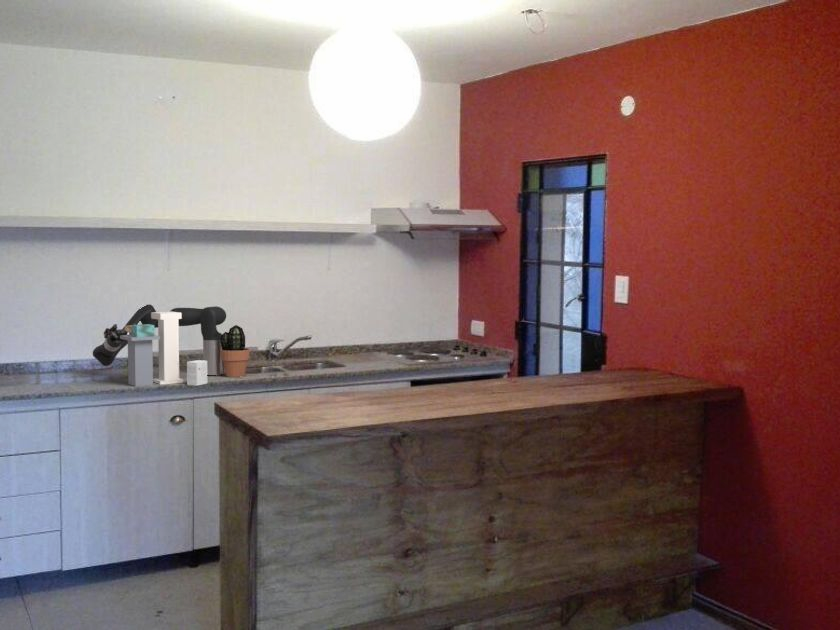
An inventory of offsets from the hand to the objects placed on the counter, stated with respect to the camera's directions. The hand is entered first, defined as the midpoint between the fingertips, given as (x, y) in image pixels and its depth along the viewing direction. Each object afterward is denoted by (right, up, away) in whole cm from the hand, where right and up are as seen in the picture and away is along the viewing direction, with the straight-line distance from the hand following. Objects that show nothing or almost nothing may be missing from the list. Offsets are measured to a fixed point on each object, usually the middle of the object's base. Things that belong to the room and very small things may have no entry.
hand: (125, 325), depth 389 cm
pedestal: (+10, -27, -9) cm, 30 cm away
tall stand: (+19, -26, -1) cm, 32 cm away
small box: (+35, -27, -6) cm, 44 cm away
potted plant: (+46, -25, +20) cm, 56 cm away
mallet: (+8, -4, -8) cm, 12 cm away
